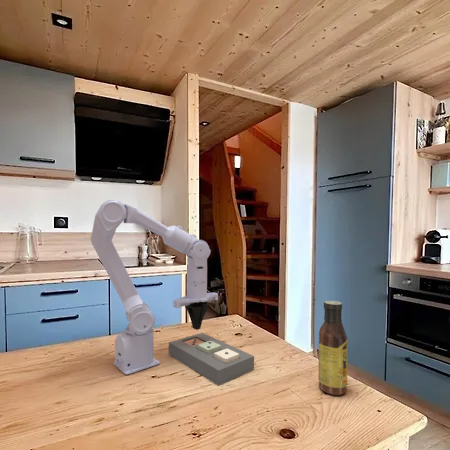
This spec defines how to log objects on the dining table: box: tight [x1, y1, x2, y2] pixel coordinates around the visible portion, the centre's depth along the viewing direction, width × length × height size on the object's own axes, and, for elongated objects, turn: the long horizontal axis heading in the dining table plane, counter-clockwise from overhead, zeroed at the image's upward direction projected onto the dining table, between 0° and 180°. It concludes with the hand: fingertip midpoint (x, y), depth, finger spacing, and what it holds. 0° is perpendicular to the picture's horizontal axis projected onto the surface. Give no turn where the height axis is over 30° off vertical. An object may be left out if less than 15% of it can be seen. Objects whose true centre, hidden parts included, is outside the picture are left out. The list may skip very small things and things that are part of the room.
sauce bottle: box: [317, 300, 348, 396], centre depth 70 cm, size 7×6×20 cm
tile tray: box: [168, 332, 255, 386], centre depth 83 cm, size 12×22×4 cm, turn 42°
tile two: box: [198, 341, 221, 354], centre depth 83 cm, size 5×5×2 cm
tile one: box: [214, 348, 239, 364], centre depth 78 cm, size 5×5×2 cm
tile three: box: [184, 338, 204, 346], centre depth 89 cm, size 5×5×2 cm
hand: (196, 328), depth 88 cm, fingers closed
